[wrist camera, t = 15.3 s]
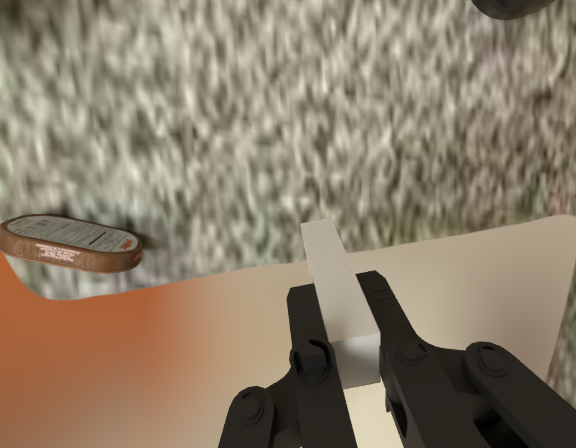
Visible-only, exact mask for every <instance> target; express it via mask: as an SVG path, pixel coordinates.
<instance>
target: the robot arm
mask: <svg viewBox="0 0 576 448" xmlns="http://www.w3.org/2000/svg"><path fill="white" fill-rule="evenodd" d="M554 1H555V0H472V2H473V3H474V4H475V6H476V7H477V8H478V9H479V10H480V11H482V12H483V13H484V14H486V15H488V16H490V17H493V18H496V19H514V18H518V17H521V16H524V15H527V14H530V13H533V12H535V11H538V10H540V9H542V8H544V7H546V6H547V5H549V4H551V3H552V2H554ZM301 230H302V235H303V240H304V246H305V251H306V257H307V262H308V267H309V271H310V276H311V280H312V284H307V285H303V286H297V287H292V288H290V290H289V293H288V296H287V306H288V315H289V323H290V332H291V340H292V349H291V351H290V357H289V361H290V364H291V368H290V370H289V372H288V373H287V374H286V375H285V376H284V377H283V378H282V379H280V380H279V381H278V382H276V383H274V384H272V385H271V386H269V387H267V388H266V389H265V388H262V387H258V386H253V387H247V388H246V389H244V390H242V391H240V392H239V393H238V395H237V396H236V397H235V398H234V399H233V401H232V403H231V405H230V407H229V411H228V414H227V417H226V421H225V424H224V428H223V432H222V435H221V439H220V442H219V446H218V448H300V447H302V448H358V447H357V444H356V439H355V435H354V432H353V428H352V424H351V420H350V416H349V412H348V408H347V404H346V400H345V396H344V392H343V389H348V388H353V387H359V386H364V385H369V384H374V383H379V382H380V375H381V378H382V381H383V383H384V386H385V388H386V399H385V400H386V401H385V403H386V404H385V405H386V411H387V412H390V411H391V414H392V416H393V419H394V421H395V425H396V427H397V430H398V433H399V435H400V438H401V441H402V444H403V447H404V448H576V409H574V408H573V407H572V406H571V405H570V404H569V403H567V402H566V401H565V400H564V399H563V398H562V397H561V396H559V395H558V394H557V393H556V392H555V391H554V390H553V389H551V388H550V387H549V386H548V385H547V384H546V383H545V382H543V381H542V380H541V379H540V378H539V377H538V376H536V375H535V374H534V373H533V372H532V371H531V370H530V369H528V368H527V367H526V366H525V365H524V364H523V363H521V362H520V361H519V360H518V359H517V358H516V357H515V356H514V355H512V354H511V353H510V352H508V351H507V350H505V349H504V348H502V347H501V346H498V345H496V344H493V343H490V342H481V341H480V342H476V343H472V344H470V345H469V346H468V347H467V348H466V350H465V351H464V350H454V349H446V348H440V347H436V346H433V345H431V344H429V343H427V342H425V341H424V340H422V339H421V338H420V337H419V336H418V335H417V334H416V332H415V331H414V329H413V328H412V326H411V324H410V322H409V320H408V319H407V317H406V315H405V313H404V311H403V310H402V308H401V306H400V304H399V302H398V301H397V299H396V298H395V295H394V293H393V292H392V290H391V288H390V286H389V284H388V282H387V281H386V279H385V278H384V277H383V276H382V275H380V274H379V273H378V272H377V271H375V270H374V271H369V272H364V273H359V274H355V273H354V271H353V268H352V266H351V264H350V261H349V259H348V257H347V254H346V252H345V250H344V247H343V245H342V243H341V240H340V238H339V236H338V233H337V231H336V229H335V226H334V224H333V222H332V219H331V218H327V219H322V220H317V221H312V222H307V223H302V224H301Z"/></svg>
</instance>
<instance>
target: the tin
mask: <svg viewBox="0 0 576 448" xmlns="http://www.w3.org/2000/svg"><path fill="white" fill-rule="evenodd" d="M0 252H2V253H4V254H6V255H8V256H11V257H14V258H18V259H23V260H29V261H34V262H39V263H45V264H50V265H55V266H60V267H66V268H71V269H76V270H81V271H86V272H92V273H105V274H108V273H119V272H124V271H128V270H131V269H133V268H135V267H136V266H137V265H138V264H139V263H140V261H141V253H142V241H141V240H140V238H139V237H137V236H136V235H134V234H132V233H130V232H127V231H124V230H121V229H116V228H112V227H108V226H103V225H99V224H95V223H90V222H86V221H82V220H77V219H73V218H68V217H63V216H57V215H48V214H32V215H23V216H19V217H17V218H13V219H10V220H7V221H5V222H3V223H1V224H0Z"/></svg>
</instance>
